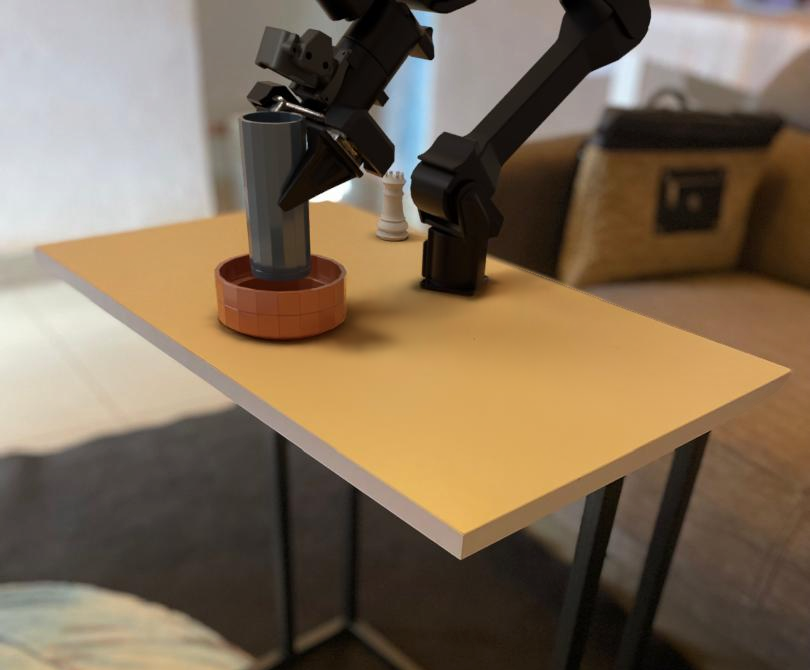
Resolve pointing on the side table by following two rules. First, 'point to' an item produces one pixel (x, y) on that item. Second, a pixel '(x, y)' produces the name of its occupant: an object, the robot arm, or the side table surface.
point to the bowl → (281, 299)
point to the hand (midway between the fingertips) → (265, 200)
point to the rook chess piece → (393, 209)
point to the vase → (274, 194)
